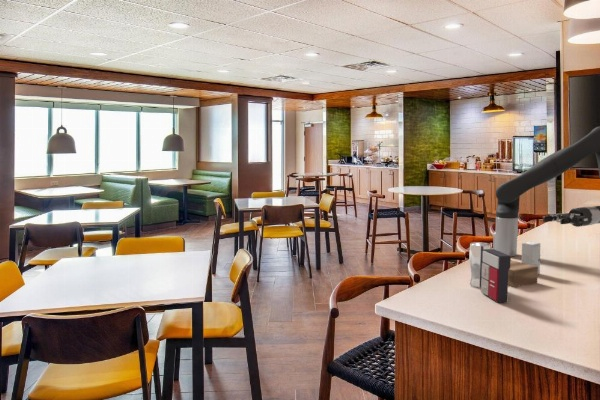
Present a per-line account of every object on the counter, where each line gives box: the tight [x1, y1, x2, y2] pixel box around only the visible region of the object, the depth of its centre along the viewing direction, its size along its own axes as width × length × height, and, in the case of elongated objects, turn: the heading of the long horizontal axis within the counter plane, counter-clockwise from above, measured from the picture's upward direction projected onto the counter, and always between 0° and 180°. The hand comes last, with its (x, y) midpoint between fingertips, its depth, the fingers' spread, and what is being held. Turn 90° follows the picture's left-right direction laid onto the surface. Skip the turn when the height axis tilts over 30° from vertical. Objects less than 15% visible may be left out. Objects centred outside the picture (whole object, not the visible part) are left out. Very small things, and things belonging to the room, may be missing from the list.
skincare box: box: [521, 241, 541, 275], centre depth 178 cm, size 6×4×12 cm
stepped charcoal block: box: [480, 248, 512, 304], centre depth 149 cm, size 11×4×15 cm, turn 5°
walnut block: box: [508, 259, 539, 288], centre depth 168 cm, size 12×12×6 cm
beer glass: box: [468, 241, 491, 289], centre depth 162 cm, size 7×7×15 cm
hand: (552, 220), depth 181 cm, fingers open, 8 cm apart
